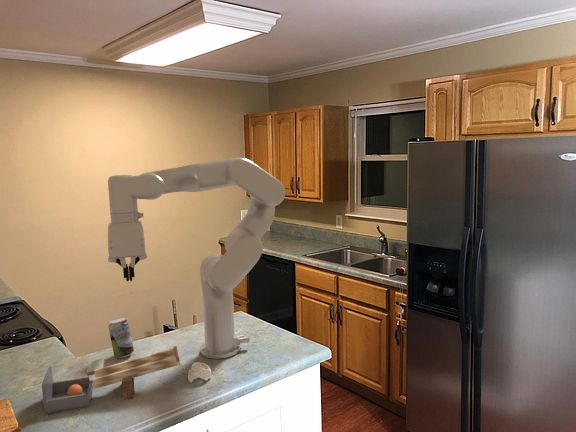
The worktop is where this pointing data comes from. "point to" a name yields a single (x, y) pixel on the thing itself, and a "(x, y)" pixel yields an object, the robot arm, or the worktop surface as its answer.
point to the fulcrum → (127, 388)
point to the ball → (74, 390)
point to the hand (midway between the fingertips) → (129, 279)
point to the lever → (132, 367)
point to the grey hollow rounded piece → (199, 372)
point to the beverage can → (120, 337)
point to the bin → (64, 394)
